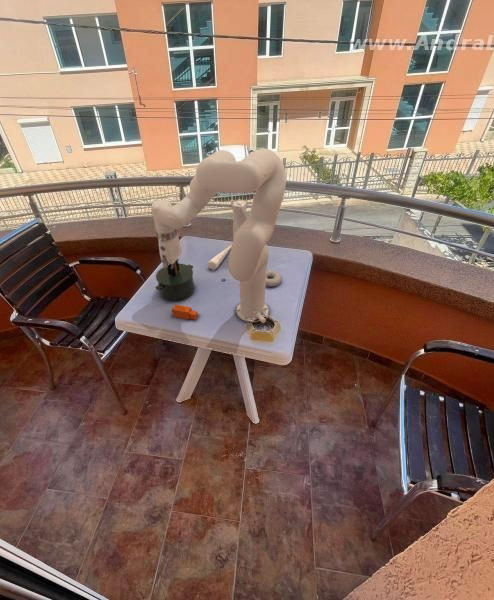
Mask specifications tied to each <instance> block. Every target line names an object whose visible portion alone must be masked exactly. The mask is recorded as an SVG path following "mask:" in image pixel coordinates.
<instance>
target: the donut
mask: <svg viewBox="0 0 494 600" xmlns="http://www.w3.org/2000/svg"><path fill="white" fill-rule="evenodd" d="M282 279H283V278H282V275H281V273H279V271H276V270H273V269H266V285H265V287H270V288H271V287H276V286H279V285H280V284H281V283H282Z"/></svg>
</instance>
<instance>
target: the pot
mask: <svg viewBox="0 0 494 600" xmlns="http://www.w3.org/2000/svg"><path fill="white" fill-rule="evenodd" d="M187 265H188V266H189V267H191V268H192V269H194V266H193V265H192V264H187ZM193 276H194V275H193ZM193 276H192V277H191V279H190V280H189V281H187V282H185V283H183V284H181V285H177V286H165V285H162V284H160V283H159V282H158V281H157V284H158V285H155V290H157V291H158V292H160V295H161V297H162V298H163V299H164V300H166V301H169V302H181V301H184V300H186V299H188V298H190V297H191V296H192V295H193V294H194V292H195V283H194V277H193Z"/></svg>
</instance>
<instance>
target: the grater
mask: <svg viewBox="0 0 494 600" xmlns="http://www.w3.org/2000/svg"><path fill="white" fill-rule="evenodd" d="M229 201H230V204H231V208H232V213H233V218H232V237H233V239H234V236H235V234H236V232H237V230H238V229H239V227H240V226H241V225H242V224H243V223H244V222H245V221H246V220H247V216H246V214H247V208H248V201H247V200H244V199H237V200H235V199H230V200H229ZM233 202H234V203H233Z"/></svg>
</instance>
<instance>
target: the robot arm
mask: <svg viewBox="0 0 494 600" xmlns="http://www.w3.org/2000/svg"><path fill="white" fill-rule="evenodd" d="M286 185H287V172H286V168H285V165H284V163H283V161H282V159H281V158H280V157H279V155H278V154H277V153H276V152H275V151H273V150H271V149H270V148H259V149H256V150H254V151H252V152H250V153H249V154H248V155H246V156H245V157H243V159H241V160H236V157H235V156H234V154H232V152H230V151H228V150H224V149H221V150H217V151H215V152H213V153H211V154H210V155H208V156H207V157H205V158H203V159H202V160H200V161H199V163H198V165H197V166H196V170H195V175H194V176H193V178H192V179H191V181H190V183H189V189H190V190H189V192H188V193H187V194H186V195H185V196H184V198H182V199H181V200H180V201H178V202H177V203H176V204H173V203H171V201H170V200H167V199H159V200H156V201H154V202H153V203H151V207H150V209H151V213H152V218H153V223H154V228H155V233H156V238H157V241H158V250H159V257H160V261H161V263H162V268H167V270H168V275H170V276H176V273H175V268H174V267H173V263H174V262H176V265H177V271H179V270H180V269H179V264H180V263H179V257H180V256H181V255H182V246H181V241H180V237H179V235H178V233H177V230H180V229H182V228H183V227H184V226H186V225H187V224H188V223H190V222H191V221H192V220H193V219H195V218H196V217H197V216H198V214H200V212H202V210H203V209H204V208H205V207H206V206H207V205H208V203H209V202H211V201H212V199H213V198H214V197H215V196H216V195H217V193H227V194H240V195H241V194H242V195H243V194H244V195H245V194H247V195H248V194H251V193H254V192H255V193H254V196H253V197H252V202H251V207H250V211H249V214H248V216H247V217H246V219H247V220H246V221H245V222H244V223H243V224H242V225H241V226H240V227H239V229H238V230H237V232H236V234H235V236H234V238H233V239H232V243H231V245H232V247H231V249H230V251H229V252H230V253H229V257H228V262H227V263H228V264H227V267H228V272H229V274H230V275H231V277H232V278H233V279H234V280H236V281H239V303H238V305H237V306H236V315H237V317H238V318H239V319H240V320H242V321H243V322H246V323H250V322H249V320H250V319H253V318H258V319H259V320H258V321H253V322H252V323H257V322H258V323H259V322H260V323H262V324H265V323H266V322H267V319H268V318H269V317H270V315H269V311H270V310H269V306H268V305H267V303H266V286H265V285H266V271H267V270H268V269H267V267H268V263H269V247H268V245H267V244H268V242H269V241H270V239H271V238H272V237H273V235H274V231H275V227H276V223H277V220H278V217H279V213H280V209H281V206H282V202H283V199H284V195H285V192H286ZM172 204H173V205H172ZM169 264H171V265H169ZM262 315H264V316H265V317H266V318H264V317H263V316H262Z"/></svg>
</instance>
